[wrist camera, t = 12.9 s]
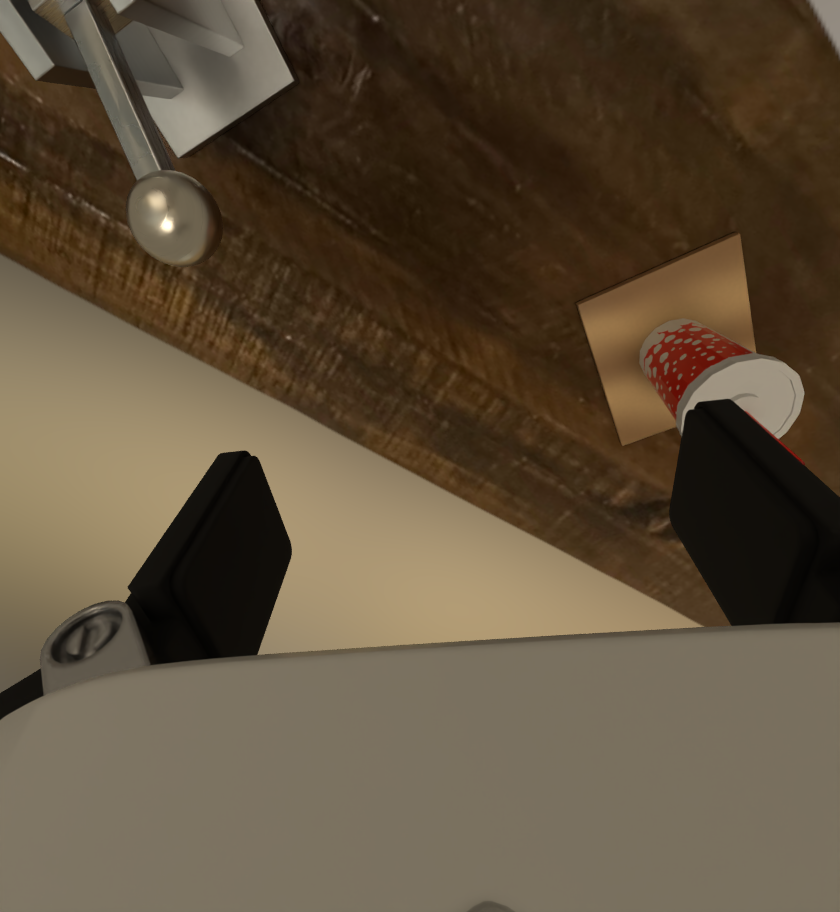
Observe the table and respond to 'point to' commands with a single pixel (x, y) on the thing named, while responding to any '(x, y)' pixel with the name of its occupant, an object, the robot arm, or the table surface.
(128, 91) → the grey lever handle
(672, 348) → the beverage cup
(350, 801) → the robot arm
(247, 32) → the faucet base
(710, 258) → the drip mat
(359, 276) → the table surface
